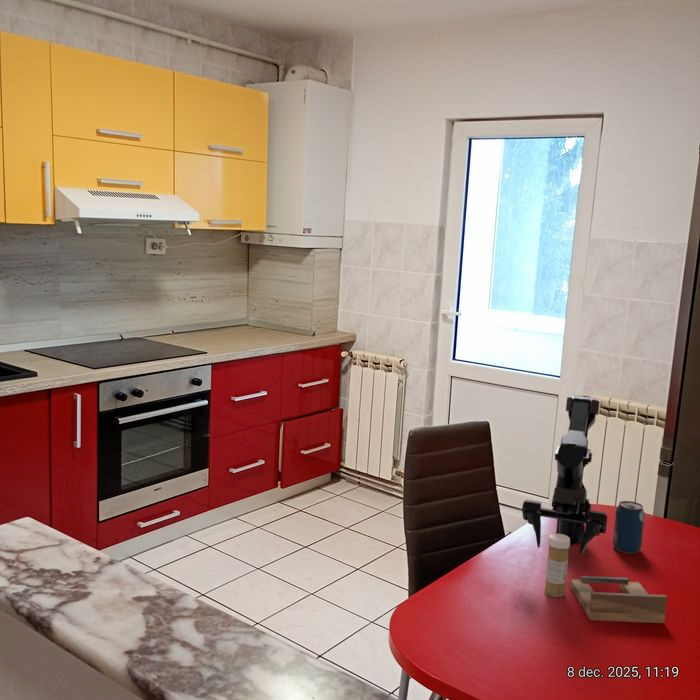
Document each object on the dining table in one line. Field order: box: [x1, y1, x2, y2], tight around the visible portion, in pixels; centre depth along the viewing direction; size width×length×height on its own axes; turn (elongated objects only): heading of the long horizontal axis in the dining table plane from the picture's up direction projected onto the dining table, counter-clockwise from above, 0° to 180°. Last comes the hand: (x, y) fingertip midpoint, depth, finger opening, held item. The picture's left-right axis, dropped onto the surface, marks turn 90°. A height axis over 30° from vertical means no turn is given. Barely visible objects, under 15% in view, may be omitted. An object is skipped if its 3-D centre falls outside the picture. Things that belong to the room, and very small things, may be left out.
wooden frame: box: [569, 575, 668, 624], centre depth 165 cm, size 15×16×6 cm
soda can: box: [612, 500, 646, 555], centre depth 195 cm, size 7×7×12 cm
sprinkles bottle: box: [544, 533, 570, 598], centre depth 169 cm, size 5×5×13 cm
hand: (559, 550), depth 170 cm, fingers open, 9 cm apart
